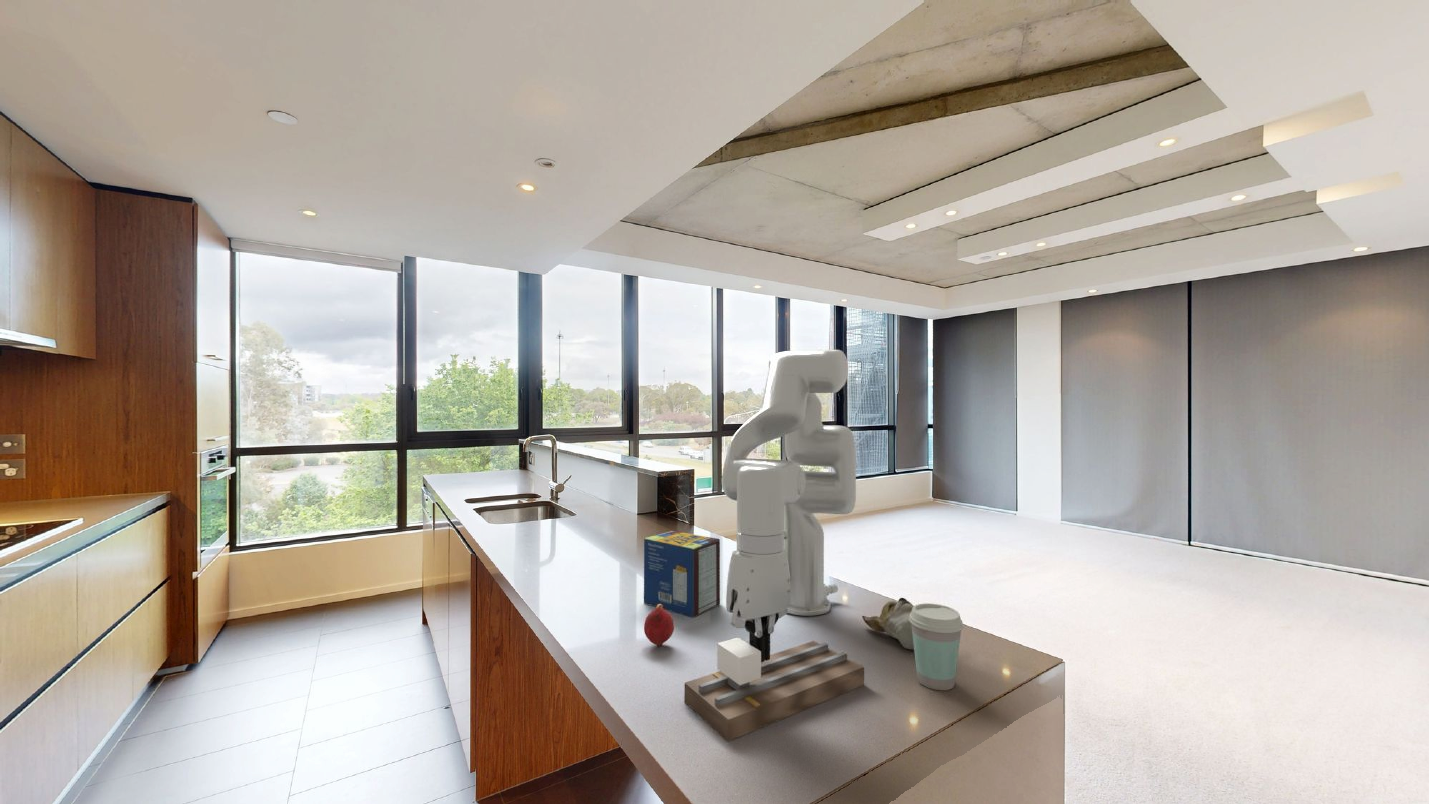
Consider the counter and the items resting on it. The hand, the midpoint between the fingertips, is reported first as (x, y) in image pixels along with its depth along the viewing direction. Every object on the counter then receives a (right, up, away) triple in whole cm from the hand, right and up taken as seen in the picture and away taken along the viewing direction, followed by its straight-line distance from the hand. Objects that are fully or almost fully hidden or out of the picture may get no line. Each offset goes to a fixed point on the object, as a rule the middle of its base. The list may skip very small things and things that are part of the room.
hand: (759, 657), depth 86 cm
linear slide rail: (+3, -7, +2) cm, 8 cm away
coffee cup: (+30, -7, +6) cm, 32 cm away
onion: (-18, -7, +19) cm, 27 cm away
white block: (-3, -3, -2) cm, 5 cm away
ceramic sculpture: (+31, -7, +23) cm, 39 cm away
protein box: (-15, -7, +42) cm, 45 cm away
